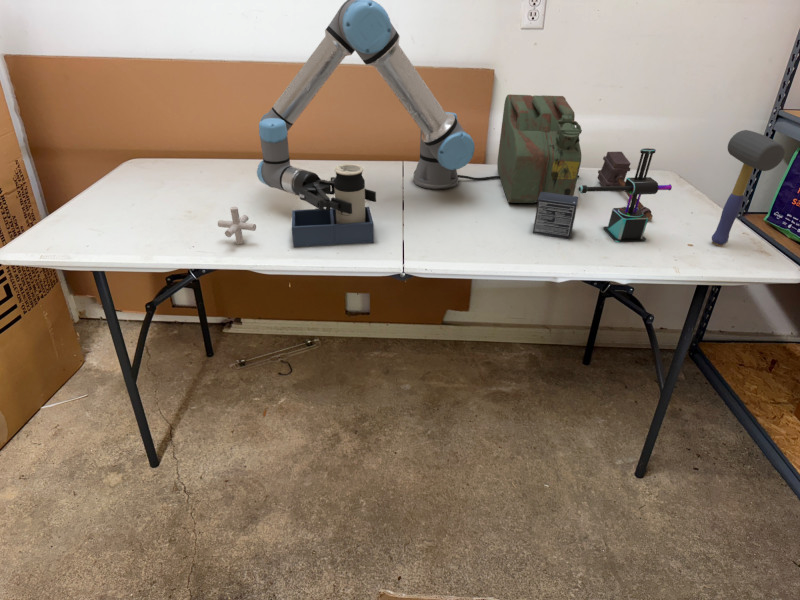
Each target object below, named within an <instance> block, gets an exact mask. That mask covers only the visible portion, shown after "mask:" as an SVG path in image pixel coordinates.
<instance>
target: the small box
mask: <svg viewBox="0 0 800 600" xmlns="http://www.w3.org/2000/svg"><path fill="white" fill-rule="evenodd" d="M578 201H579V196H578V195H573V196H570V195H562V194H555V193H547V192H540V195H539V198H538V202H537V205H536V211H535V216H534V223H533V228H532V231H531V232H532V234H534V235H535V234H536V235H543V236H549V237H556V238H563V239H568V240H570V239H571V237H572V232H573V227H574V222H575V217H576V212H577V208H578V203H579V202H578Z"/></svg>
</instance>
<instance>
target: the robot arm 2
mask: <svg viewBox="0 0 800 600" xmlns="http://www.w3.org/2000/svg"><path fill="white" fill-rule="evenodd" d="M656 151H657V150H656V149H655V148H649V147H647V148H640V150H639V153H640V157H639V160H638V164H637V167H636V170H635V171H636V172H635V174H634V177H626V178H625V179H626V180H625V182H626V183H625V186H602V185H601V186H588V185H587V184H584V185H583V184H580V186H579V187H578V193H580V194H587V193H589V192H590V193H591V192H593V193H594V192H625V191H627V192H628V193H629V194H630V197H629V196H628V200H627V204H626V206H622V207H613V208H612V209H611V213H610V217H609V220H608V225H607V226H603V227H602V230H603V231H605V233H606V234H607V235H608V236H609V237H610V238H611V239H612V240H613V241H614V242H615V243H641V242H647V238H646V237H645V236H644V235H645V231H646V227H647V225H648V221H649V220H648V217H647V216H646V215H645V214H643V212H642V211H640V210H639V209H638V208H637V207H638V203H639V201H640V200H641V196H642V195H656V194H657V193H658V191H671V190H672V188H673V187H672V184H670V183H669V184H659V183H658V182H657V181H656V180H654V178H652V177H650V176H648V172H649V168H650V165H651V162H652V158H653V155H654V154H656ZM632 195H633V198H632ZM631 198H632V200H631ZM636 199H637V202H636ZM635 203H636V205H635Z"/></svg>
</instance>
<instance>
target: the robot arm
mask: <svg viewBox="0 0 800 600" xmlns="http://www.w3.org/2000/svg"><path fill="white" fill-rule="evenodd" d="M324 35H325V36H324V37H323V38H322V40H321V42H319V44H318V45H317V47H316V48H315V50H313V52H312V53H311V55H310V56H309V57H308V58H307V60H306V61H305V63H304V64H303V66H301V68H300V69H299V71H298V72H297V74H295V76H294V78H293V79H292V80H291V81H290V82H289V84H288V85H287V87H286V88H285V89H284V91H283V92H282V93H281V95H280V96H279V98H278V99H277V100H276V101H275V103H274V104H273V106H272V107H271V108H270V109H269V110H268V112H267V113H265V114H263V115H262V117H261V118H260V120H259V123H258V128H259V129H258V134H259V135H258V136H259V140H260V146H261V147H260V148H261V153H262V160H261V161H260V162H259V164H258V165H257V170H256V177H257V178H258V180H259V182H261V184H263V185H266V186H268V187H269V188H272V189H277V190H279V191H283V192H286V193H290V194H291V195H294V196H298V197H299V200H300V201H304V202H306V203H308V204H309V205H311V206H312V207H315V209H320V210H323V209H326V211H330V210H331V209H330V208H333V209H336V210H339V211H342V212H345V213H348V214H352V203H349V202H346V201H342V200H339V199H336V198H335V197H329V196H328V195H334V196H335V189H334V180H335V178H336V176H331V177H330V180H326V179H321V178H320V177H319V175H318V174H317V173H315V172H313V171H309V170H305V169H303V168H301V167H297V166H293V165H291V160H290V159H291V158H290V150H289V138H288V137H289V136H288V134H289V133H288V132H289V130H290V129H291V128H292V127H293V125H294V124H295V122H296V121H297V120H298V118H299V117H300V116H301V114H302V113H303V112H304V111H305V109H306V108H307V107H308V105H309V104H310V103H311V101H312V100H313V99H314V98H315V97H316V95H317V94H318V93H319V91H320V90H321V89H322V88H323V86H324V85H325V84H326V82H327V81H328V80H329V79H330V77H331V76H332V75H333V73H334V72H335V71H336V69H337V68H338V67H339V66H340V64H341V63H342V61H344V59H345V58H346V57H348V56H352V55H353V54H354V52H356V54H357V55H358V57H359V58H360V59H361V60H362V62H363V63H364V65H365V66H368V67H369V66H371V67H374V68H375V70H376V71H377V72H378V74H379V75H380V76H381V78H382V79H383V81H384V82H385V83H386V84H387V86H388V88H389V89H390V90H391V91H392V93H393V94H394V95H395V97H396V98H397V99H398V101H399V102H400V103H401V105H402V106H403V108H404V109H405V110H406V112H407V113H408V114H409V115H410V118H412V119H413V121H414V123H415V124H416V125H417V126H418V128H420V137H419V138H420V139H419V160H418V162H417V164H416V168H415V170H414V171H413V183H414V184H415V185H416V186H418V187H420V188H423V189H428V190H447V189H452V188H454V187H456V186H457V185H458V183H459V178H461V179H467V180H471V181H484V180H485V181H486V180H493V179H500V176H499V175H491V176H482V177H474V176H469V175H462V174H458V171H457V170H461V169H463V168H464V167H465V166H467V165H468V164H469V163H470V162H471V161H472V159H473V157H474V154H475V150H476V149H475V148H476V147H475V146H476V145H475V141H474V140H473V137H472V136H471V135H470V134H469V133H468V132H466V131H465V130H464V127H462V125H461V124H460V122H459V119H458V114H457V113H455V112H452V111H451V112H450V111H445V110H444V108H443V106H442V105H441V104H440V103H439V101H438V99H437V98H436V97H435V95H434V94H433V92H432V91H431V89H430V88H429V86H428V85H427V84H426V82H425V81H424V79H423V78H422V76H421V75H420V74H419V72H418V71H417V68H415V66H414V65H413V63H412V62H411V60H410V59H409V58H408V56H407V54H406V53H405V52H404V50H403V49H402V48H401V46H400V39H401V38H400V37H401V36H400V34H399V33H398V31H397V30H396V28H395V27H394V25H393V24H392V21H391V19H390V16H389V13H388V12H387V10H386V9H385V8H384V6H382V5H381V4H380V3H378V2H377V1H375V0H346V1H344V2H343V3H342V5H341V6H340V7H339V9H338V10H337V12H336V13H335V15H334V16H333V18H332V20H331V21H330V23H329V24H328V26H327V27H326V28H325V29H324ZM579 178H580V175H579V174H578V177H577V179H579ZM365 201H369V202H371V203H376V202H377V192H376V191H374V190H371V189H367V188H365Z"/></svg>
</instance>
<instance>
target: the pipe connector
mask: <svg viewBox="0 0 800 600" xmlns="http://www.w3.org/2000/svg"><path fill="white" fill-rule="evenodd" d="M230 214H231V220H222V219H218V221H217V226H218V228H223V229H224V228H226V231H224V236H225V237H227V238H231V237H232V236H233V235H234V237H235V243H236V245H243V244H244V238H243V231H252V232H255V231H256V229H257V224H256V223H251V222H248V221H249V216H248V215H246V214H243V215H242V216H241V217H240V214H239V208H238V206H231V207H230ZM242 230H243V231H242Z"/></svg>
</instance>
